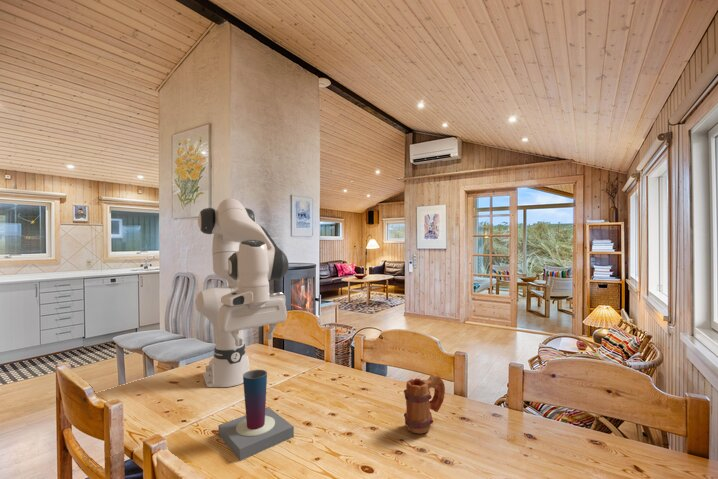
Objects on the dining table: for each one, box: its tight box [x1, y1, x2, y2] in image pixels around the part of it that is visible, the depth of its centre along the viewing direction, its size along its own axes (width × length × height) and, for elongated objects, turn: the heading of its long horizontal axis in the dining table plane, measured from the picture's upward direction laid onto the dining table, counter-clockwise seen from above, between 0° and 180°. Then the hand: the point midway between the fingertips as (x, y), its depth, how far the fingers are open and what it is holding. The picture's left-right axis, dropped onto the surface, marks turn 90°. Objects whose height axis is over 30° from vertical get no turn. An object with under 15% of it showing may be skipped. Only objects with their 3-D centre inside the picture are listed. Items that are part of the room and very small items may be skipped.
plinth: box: [217, 407, 295, 461], centre depth 100 cm, size 16×16×3 cm
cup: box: [242, 369, 268, 430], centre depth 100 cm, size 7×7×15 cm
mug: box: [403, 373, 446, 434], centre depth 104 cm, size 15×8×15 cm, turn 117°
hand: (254, 342), depth 100 cm, fingers open, 8 cm apart
